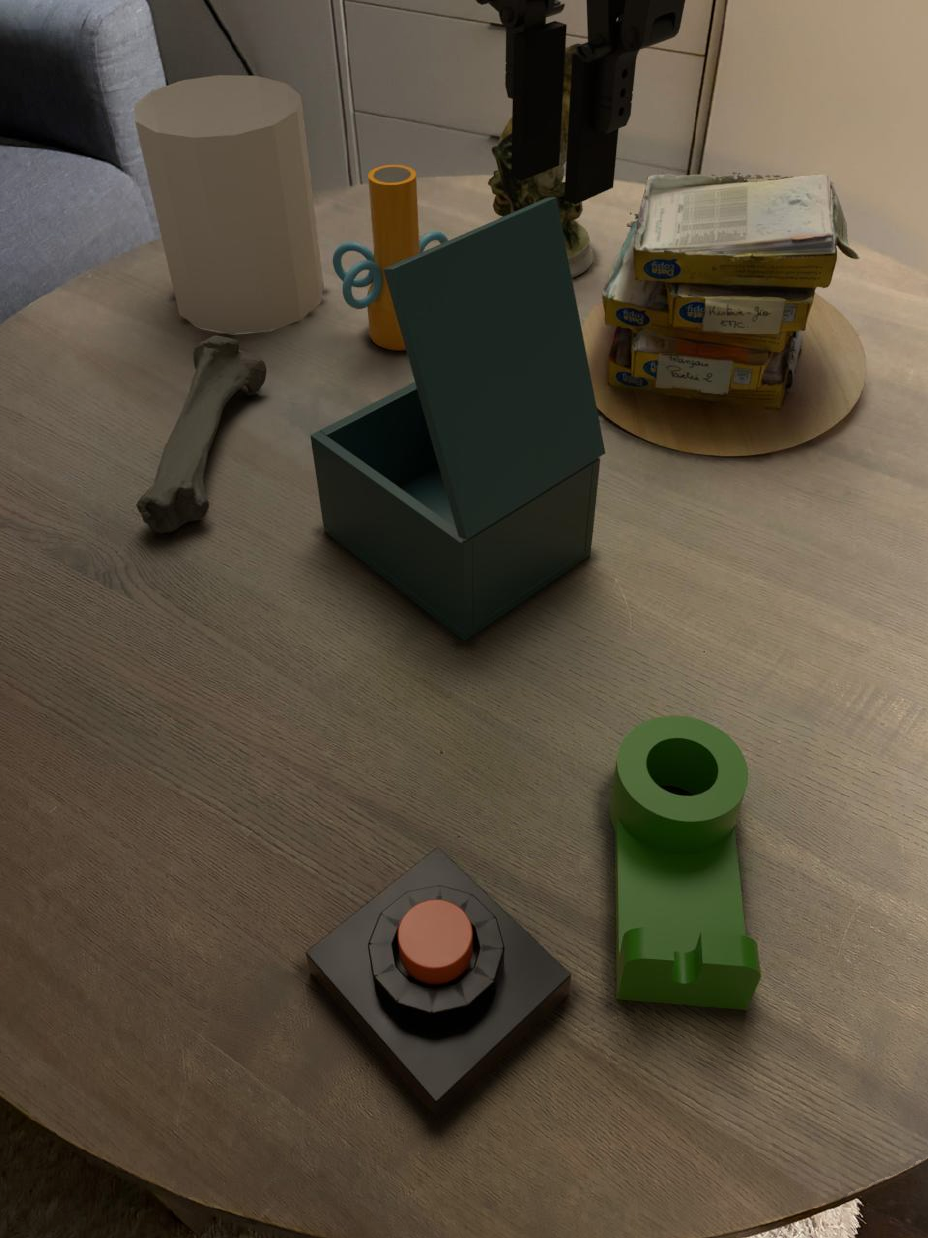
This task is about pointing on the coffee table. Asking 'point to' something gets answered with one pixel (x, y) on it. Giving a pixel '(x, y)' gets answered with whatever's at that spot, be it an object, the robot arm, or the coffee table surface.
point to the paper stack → (726, 317)
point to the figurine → (544, 185)
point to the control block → (443, 1013)
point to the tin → (441, 518)
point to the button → (435, 941)
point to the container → (233, 200)
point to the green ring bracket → (680, 867)
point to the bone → (198, 433)
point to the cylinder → (385, 249)
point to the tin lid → (499, 362)
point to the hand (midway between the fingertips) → (561, 180)
